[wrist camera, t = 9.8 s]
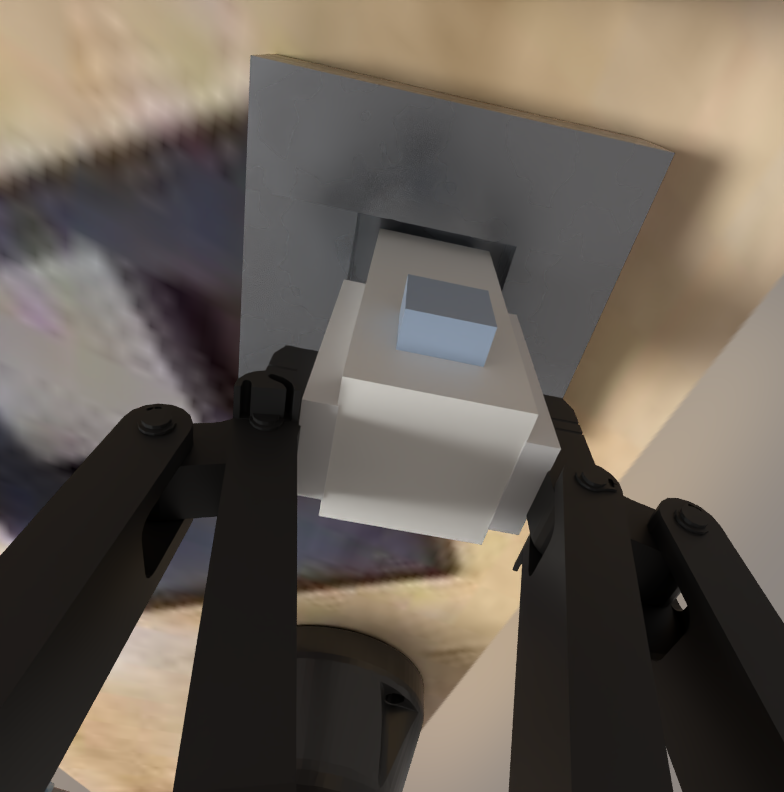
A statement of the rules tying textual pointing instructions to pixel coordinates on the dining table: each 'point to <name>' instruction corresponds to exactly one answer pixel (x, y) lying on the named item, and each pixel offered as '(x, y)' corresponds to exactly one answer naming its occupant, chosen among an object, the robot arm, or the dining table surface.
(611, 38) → the dining table surface
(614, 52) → the dining table surface
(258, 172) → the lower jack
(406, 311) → the plug
